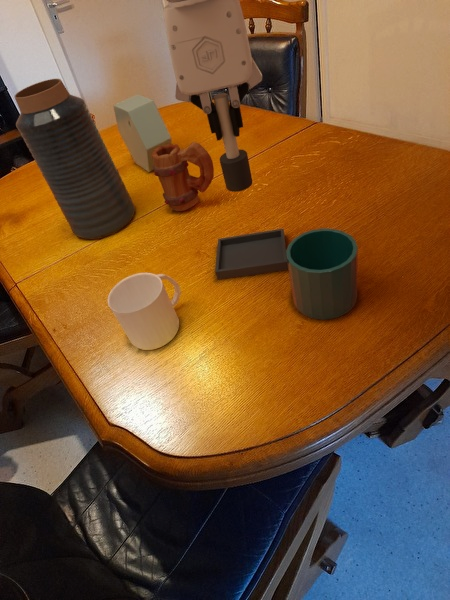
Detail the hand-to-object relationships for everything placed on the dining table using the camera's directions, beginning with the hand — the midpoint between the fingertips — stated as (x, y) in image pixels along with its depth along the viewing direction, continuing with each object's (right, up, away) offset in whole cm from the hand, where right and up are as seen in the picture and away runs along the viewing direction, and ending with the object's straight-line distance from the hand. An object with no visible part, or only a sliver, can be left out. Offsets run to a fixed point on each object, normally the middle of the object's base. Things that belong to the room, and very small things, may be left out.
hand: (228, 133), depth 60 cm
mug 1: (-11, -29, +10) cm, 33 cm away
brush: (+2, -6, +6) cm, 9 cm away
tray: (+5, -17, +18) cm, 25 cm away
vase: (-30, -5, +41) cm, 51 cm away
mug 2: (-8, -2, +37) cm, 37 cm away
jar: (+16, -24, +6) cm, 30 cm away
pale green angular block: (-21, +15, +59) cm, 65 cm away
